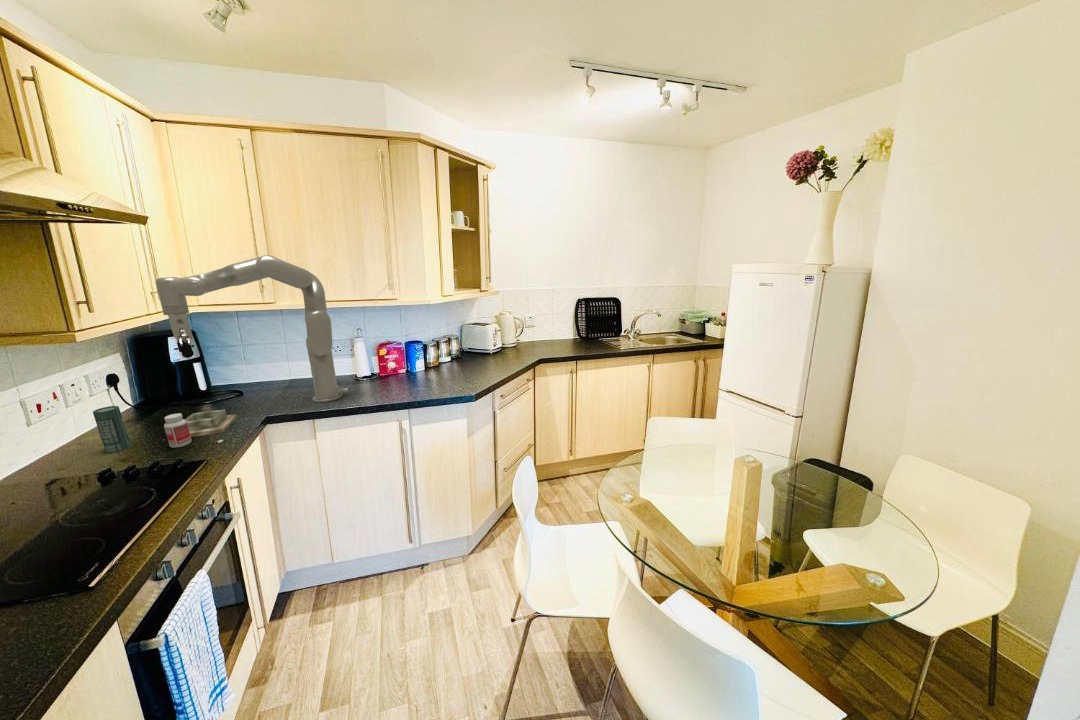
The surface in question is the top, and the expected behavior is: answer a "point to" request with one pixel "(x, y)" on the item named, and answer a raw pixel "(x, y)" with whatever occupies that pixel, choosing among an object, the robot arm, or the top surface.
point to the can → (111, 428)
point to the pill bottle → (177, 431)
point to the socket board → (209, 422)
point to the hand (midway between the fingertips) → (186, 353)
